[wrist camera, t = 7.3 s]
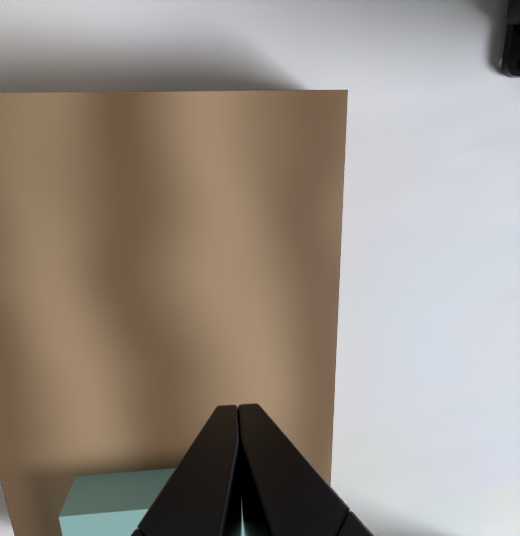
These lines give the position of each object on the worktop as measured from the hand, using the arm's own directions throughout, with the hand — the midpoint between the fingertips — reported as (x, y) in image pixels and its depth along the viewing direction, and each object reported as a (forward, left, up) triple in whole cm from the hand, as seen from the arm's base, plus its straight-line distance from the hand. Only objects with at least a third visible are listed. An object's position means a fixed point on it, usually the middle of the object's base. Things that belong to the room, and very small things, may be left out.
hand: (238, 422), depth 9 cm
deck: (+3, +4, -12) cm, 13 cm away
